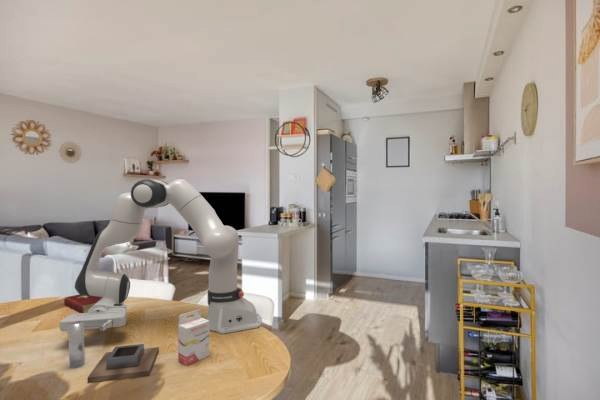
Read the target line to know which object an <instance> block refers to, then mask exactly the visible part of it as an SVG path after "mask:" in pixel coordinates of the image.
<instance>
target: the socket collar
mask: <svg viewBox="0 0 600 400" xmlns="http://www.w3.org/2000/svg"><path fill="white" fill-rule="evenodd" d="M144 349H145V343H142V344H141V343H139V344H138V343H137V344H129V345H120V346H119V345H118V346H115V347H114V348H113V349H112V351H110V352H111V354H110V355H109V357H108V358H107V359H106V370H110V369H119V368H128V367H137V366H138V365H139V363H140V361H141V359H142V357H143V354H144Z"/></svg>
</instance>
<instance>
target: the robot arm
mask: <svg viewBox="0 0 600 400" xmlns="http://www.w3.org/2000/svg"><path fill="white" fill-rule="evenodd" d="M169 204H170V205H171V206H172V207H173V208H174V209H175V210H176V211H177V212H178V214H179V215H180V216H181V217H182V218H183V219H184V221H185V222H186V223H187V224H188V225H189V227H191V229H192V230H193V232H194V233H195V235H196V237H197V239H198V240H199V242H200V243H201V245H202V246H203V249H204V252H205V253H206V254H207V256H209V257H210V262H209V266H208V289H207V293H206V294H207V297H206V298H207V305H208V307H207V315H206V320H209V331H213V332H217V333H219V334H223V335H224V334H229V333H235V332H239V331H245V330H246V331H248V330H251V329H256V328H260V327H262V325H263V318H262V316H261V315H260V314H259V313H257V309H256V306H255V305H254V304H253V302H251V301H250V300H248V299H247V298H246V297H244V291H243V290H242V288H241V287H238V261H239V260H238V259H239V247H240V246H239V244H240V243H239V242H240V241H239V240H240V237H239V236H240V235H239V233H238V231H237V229H236V228H234V227H233V226H230V225H224V224H223V222H222V220H221V219H220V218H219V216H218V215H217V213H216V210H215V209H214V208H213V207H212V206H211V204H210V203H209V202H208V200H206V199H205V197H204V196H203V195H202V194H201V193H200V192H199V191H198V190H197V189H196V188H195V187H194V186H193V185H192V184H191V183H190V182H188V181H187V180H185V179H183V178H178V179H174V180H172V181H171V182H169V183H168V182H166V181H163V180H162V181H161V180H158V179H148V178H145V179H141V180H138V181H137V182H136V183H134V184H133V185H132V187H131V190H130V192H124V193H121V194H119V195H118V197H117V198H116V200H115V203H114V206H113V209H112V212H111V216H110V220H109V223H108V225H107V226H106V227H105V228H104V229H101V230H99V232H98V233H97V234H96V236H95V238H94V240H93V242H92V244H91V247H90V249H89V251H88V253H87V256H86V258H85V261H84V263H83V266H82V268H81V270H80V272H79V274H78V276H77V278H76V279H75V283H74V289H75V290H76V293H78V295H79V294H80V295H81V296H98V297H103V298H101V299H100V300H99V301H98V302H97V303H96V304H94V305H93V306H92V307H91V308H90V309H89V310H88V312H87V313H80V312H78V313H73V314H69V315H68V316H66V317H64V318H63V319H61V320H60V321H59V331H61V332H68V324H70V323H72V322H76V321H84V331H85V330H95V329H99V331H101V332H102V331H106V329H110V328H117V327H123V326H125V325H126V324H127V322H128V321H127V318H128V312H127V311H128V310H127V308H128V307H127V304H125V301H126V300H127V298H128V296H129V294H130V289H131V281H130V279H129V277H128V275H127V274H125V273H120V272H114V271H113V272H110V271H104V270H99V269H98V268H97V267H98V265H99V262H100V260H101V257H102V254H103V253H104V250H105V249H106V248H107V247H111V246H115V245H122V244H126V243H129V242H131V241H133V240H135V239H136V238H137V237H138V236H139V234H140V231H141V228H142V223H143V219H144V218H143V217H144V214H145V212H146V210H148V209H149V208H150V209H151V208H153V209H156V208H162V207H165V206H168V205H169Z"/></svg>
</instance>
